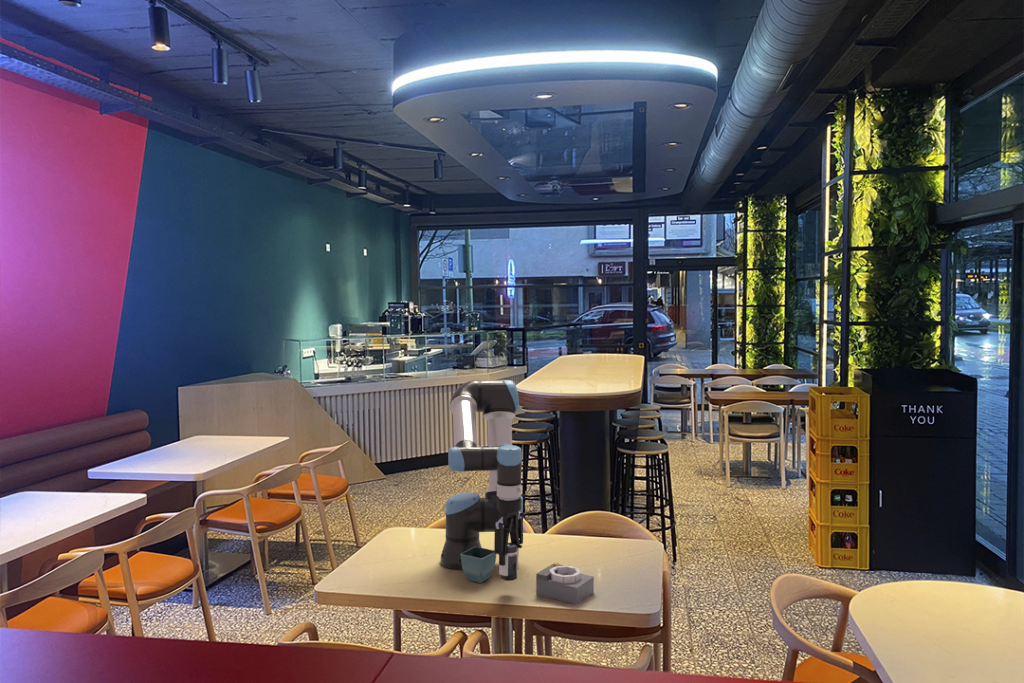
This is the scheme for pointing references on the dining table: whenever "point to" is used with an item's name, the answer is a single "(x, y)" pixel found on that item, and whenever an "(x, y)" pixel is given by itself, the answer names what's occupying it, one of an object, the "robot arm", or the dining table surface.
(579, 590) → the camera body
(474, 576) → the flower pot
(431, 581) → the dining table surface
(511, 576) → the lens
